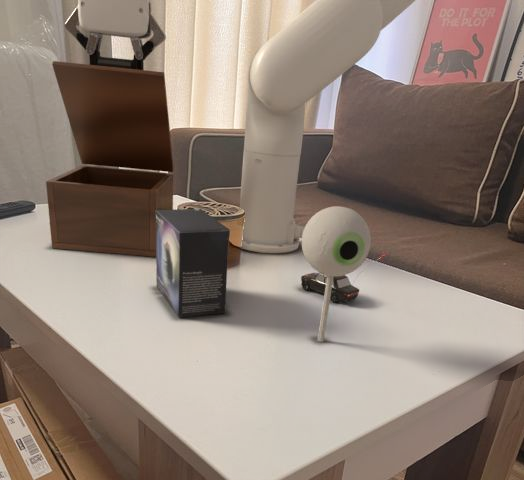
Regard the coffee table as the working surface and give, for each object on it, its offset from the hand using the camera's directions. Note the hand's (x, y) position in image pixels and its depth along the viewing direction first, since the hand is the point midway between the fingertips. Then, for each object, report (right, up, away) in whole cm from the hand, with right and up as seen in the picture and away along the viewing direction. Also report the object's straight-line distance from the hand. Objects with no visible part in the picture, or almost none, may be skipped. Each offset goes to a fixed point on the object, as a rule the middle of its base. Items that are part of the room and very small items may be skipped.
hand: (117, 85), depth 82 cm
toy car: (+33, -34, -9) cm, 49 cm away
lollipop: (+29, -40, -22) cm, 54 cm away
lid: (0, -5, +3) cm, 6 cm away
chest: (-2, -22, +8) cm, 24 cm away
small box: (+13, -35, -15) cm, 40 cm away
